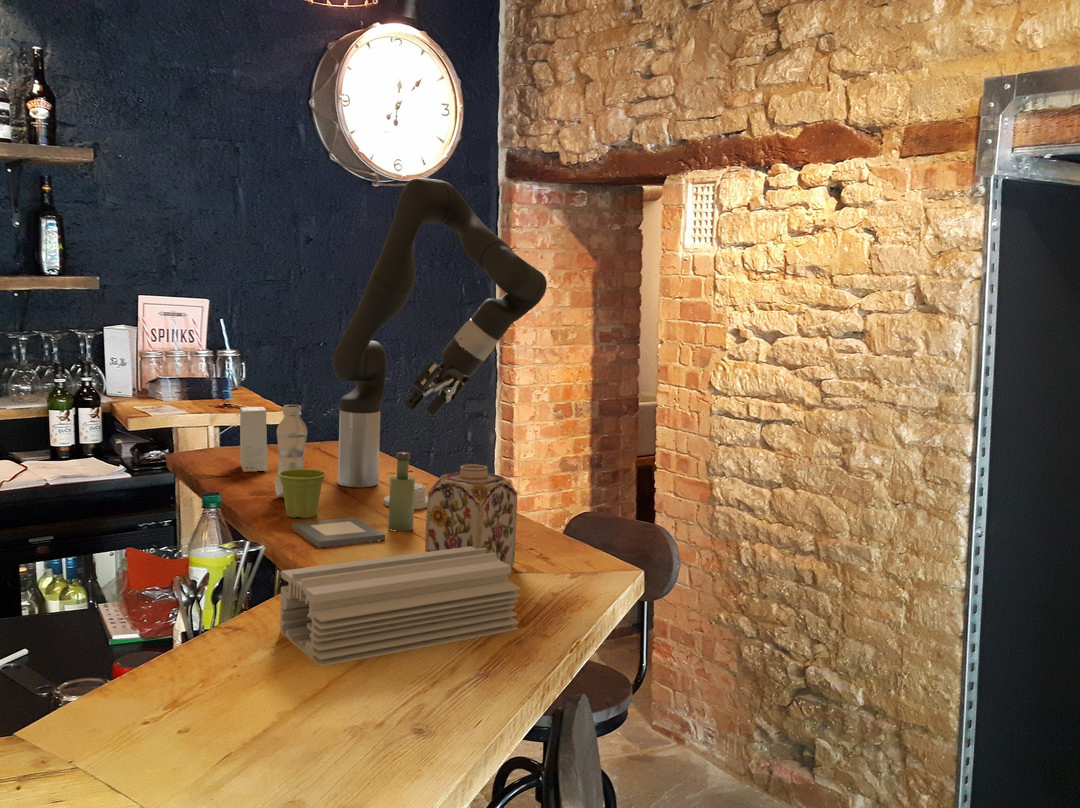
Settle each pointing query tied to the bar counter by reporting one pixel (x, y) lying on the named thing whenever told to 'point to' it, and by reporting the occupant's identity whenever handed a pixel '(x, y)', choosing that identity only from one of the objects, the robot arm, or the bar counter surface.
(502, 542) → the decorative jar
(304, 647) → the aluminum extrusion profile
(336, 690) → the bar counter surface
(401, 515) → the bitters bottle
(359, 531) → the board
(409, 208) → the robot arm
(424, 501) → the mechanical component
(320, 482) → the plant pot
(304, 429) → the plastic bottle
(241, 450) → the skincare box
